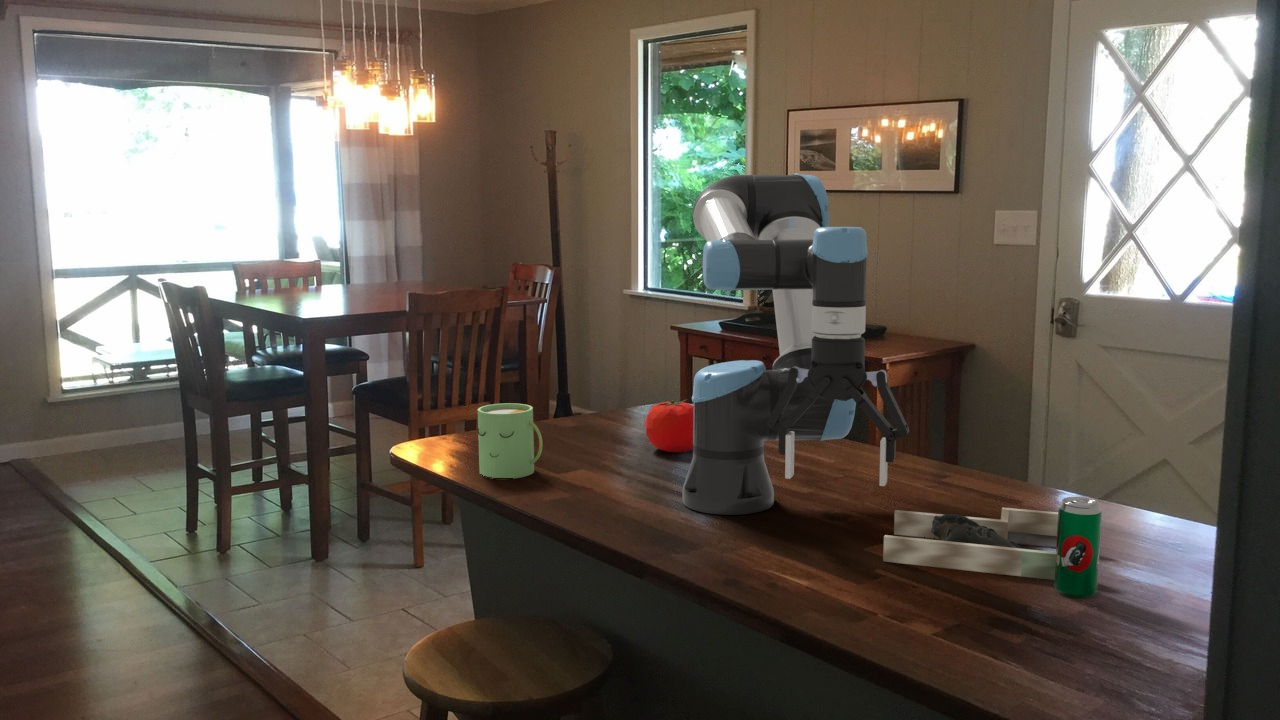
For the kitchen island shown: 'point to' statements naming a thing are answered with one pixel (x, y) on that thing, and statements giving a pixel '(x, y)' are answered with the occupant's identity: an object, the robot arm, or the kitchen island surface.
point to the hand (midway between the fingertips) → (835, 480)
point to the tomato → (671, 426)
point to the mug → (507, 440)
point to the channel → (976, 557)
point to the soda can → (1077, 547)
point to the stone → (967, 531)
